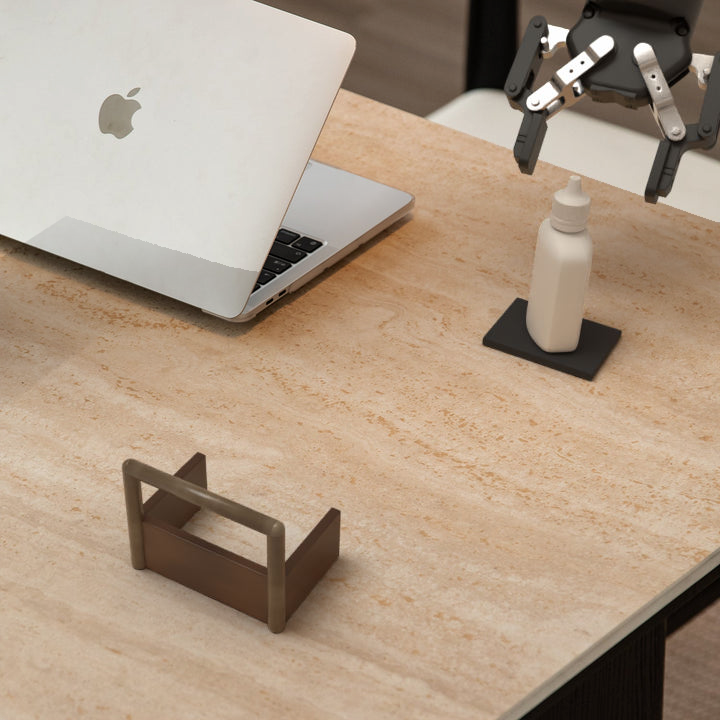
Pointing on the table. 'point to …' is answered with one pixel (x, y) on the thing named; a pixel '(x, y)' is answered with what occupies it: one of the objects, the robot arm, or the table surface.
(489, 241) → the table surface
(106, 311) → the table surface
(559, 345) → the eye dropper bottle
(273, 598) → the caddy
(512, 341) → the mat
